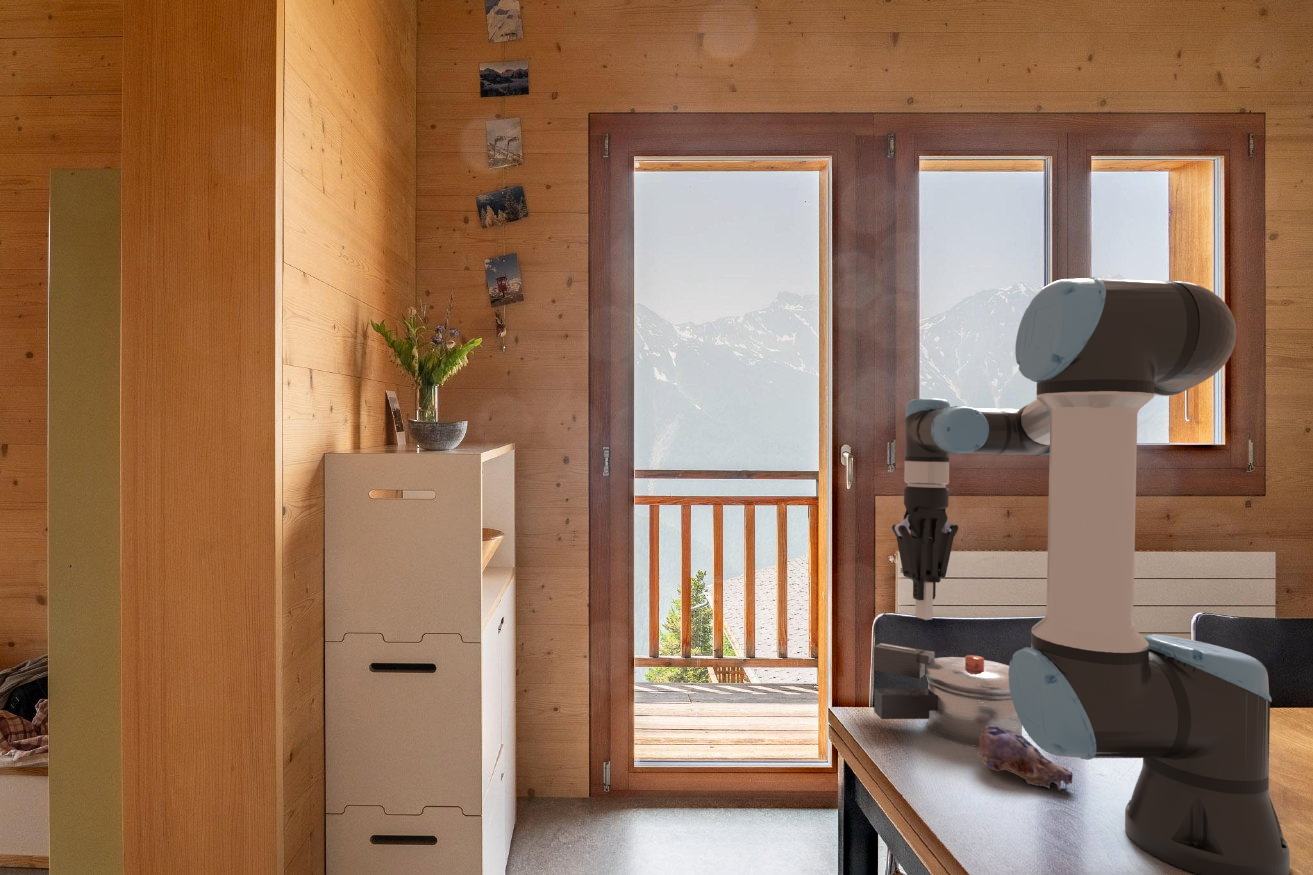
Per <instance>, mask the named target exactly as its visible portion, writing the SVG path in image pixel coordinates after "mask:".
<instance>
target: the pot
mask: <svg viewBox="0 0 1313 875" xmlns="http://www.w3.org/2000/svg"><path fill="white" fill-rule="evenodd" d="M926 681H927V682H928V687H927V688H874V694H873V695H874V696H873V698H874V700H873V702H874V703H873V704H874V705H873V709H874V710H873V713H875V715H877V717H879V718H880V719H881V720H927V727H928V729H929V730H930V729H931V731H932V732H933V733H934V734H935V735H937V736H939V737H942V738H944V739H945V740H949V741H951V740H952V742H955V743H958V744H961V745H962V744H963V745H966V744H967V745H966V746H971V745H974V746H973V747H977V746H979V748H980V740H979V739H980V735H981V733H982V731H983V730H984V728H985V727H987V726H990V725H994V726H998V727H1000V728H1003V729H1005V730H1010V731H1014V732H1016V733H1018V734H1020V735H1021V736H1023V725H1022V723H1021V721H1020V719H1019V717H1018V715H1017V713H1016V710H1015V707H1014V704H1013V701H1012V697H1011V694H982V693H974V692H967V691H962V690H957V689H953V688H949V687H946V686H943V685H940V684H937V683H935V682H933V681H931V680H929V679H928V678H927V677H926Z"/></svg>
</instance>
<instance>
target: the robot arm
mask: <svg viewBox="0 0 1313 875" xmlns="http://www.w3.org/2000/svg"><path fill="white" fill-rule="evenodd" d="M1236 339H1237V327H1236V321H1235V318H1234V315H1233V312H1232V311H1231V309H1230V308H1229V306H1228V305H1227V304H1226V302H1225V301H1224V300H1223V299H1222V298H1221V297H1219V296H1218V295H1217V294H1216V293H1215V292H1213V291H1212V290H1210V289H1208V288H1206V287H1204V286H1201V285H1198V284H1195V283H1193V282H1187V281H1177V280H1164V281H1163V280H1161V281H1160V280H1146V279H1145V280H1141V279H1124V278H1123V279H1122V278H1103V277H1097V276H1096V277H1095V276H1092V277H1091V276H1090V277H1087V278H1086V277H1085V278H1068V279H1067V278H1064V279H1058V280H1055V281H1053V282H1051V283H1049V284H1047V285H1046V286H1044V287H1042V289H1041V290H1039V291H1038V292H1037V294H1035V296H1034V297H1033V298H1032V299H1031V301H1030V304H1029V305H1028V307H1026V309H1025V310H1024V313H1023V315H1022V317H1021V320H1020V323H1019V327H1018V330H1017V335H1016V339H1015V349H1014V350H1015V352H1014V354H1015V361H1016V362H1015V363H1016V364H1017V365H1018V370H1019V372H1020V374H1021V375H1022V376H1023V377H1024V378H1026V379H1028V380H1030V381H1031V382H1034V383H1036V399H1034V400H1033V401H1032V402H1030V403H1028V404H1027V405H1025V406H1022V408H1016V409H1015V408H981V407H979V408H978V407H977V408H976V407H975V408H974V407H971V406H965V405H964V406H957V405H955V406H951V405H950V402H949V401H948V400H947V399H944V398H918V399H917V398H916V399H914V398H913V399H910V400H908V402H907V403H906V405H905V406H906V407H905V414H904V415H905V416H904V473H903V474H904V483H906V484H907V485H906V486H905V487H903V505H904V507H905V513H904V514H903V520H902V521H901V522H900V523H899V522H898V524H895V523H894V524H893V525H892V526H891V530H892V532H893V534H894V535H895V537H896V541H897V547H898V553H899V558H900V563H901V570H902V574H903V577H905V578H908V579H909V580H912V598H913V599H914V600H915V604H914V605H915V607H914V608H915V610H914V611H915V612H914V614H915V617H916V618H918V619H921V620H924V621H928V620H933V609H934V608H933V605H934V604H933V602H934V600H935V598H936V592H937V590H936V588H937V586H936V584H938V583H940V582H941V579H942V578H946V577H947V576H946V575H947V572H948V567H949V562H950V558H951V557H950V556H951V554H952V553H951V552H952V548H953V543H954V539H955V536H956V534H957V532H958V531H959V525H957V524H955V523H951V521H949V520H948V519H949V518H948V515H947V512H946V509H947V508H948V507H949V505H950V504H949V502H950V498H949V495H950V491H949V488H948V487H946V486H947V485H949V484H950V454H952V455H958V454H959V455H965V454H971V455H972V454H973V455H974V454H975V455H977V454H981V455H985V454H986V455H1019V456H1020V455H1021V456H1023V455H1025V456H1035V457H1042V456H1049V466H1048V467H1049V468H1048V470H1049V472H1048V473H1049V474H1048V512H1047V514H1048V515H1047V519H1048V520H1047V522H1048V524H1047V558H1046V560H1047V561H1046V562H1047V564H1046V566H1047V567H1046V568H1047V569H1046V572H1047V573H1046V608H1045V609H1046V610H1045V611H1046V612H1045V613H1046V615H1045V616H1044V617H1043V618H1042V619H1040V620H1039V621H1038V622H1037V623H1035V624H1034V625H1033V626H1032V627H1031V633H1030V634H1031V640H1030V641H1031V642H1030V645H1031V646H1030V647H1028V646H1027V647H1023V648H1022V649H1018V650H1017V651H1015V652H1014V653H1013V655H1012V659H1011V660H1010V661H1009V665H1008V666H1009V674H1008V675H1009V687H1010V693H1011V697H1012V701H1013V704H1014V707H1015V710H1016V713H1017V715H1018V717H1019V719H1020V721H1021V723H1022V728H1023V729H1024V731H1025V732H1026V734H1027V735H1028V736H1029V738H1030V739H1031V740H1032V741H1033V742H1034V743H1035V744H1036V746H1038V747H1039V748H1040V749H1042V750H1043V751H1045V752H1046V753H1048V754H1051V755H1053V756H1056V757H1068V758H1079V759H1081V760H1086V761H1087V760H1094V759H1142V767H1141V770H1140V773H1139V775H1138V777H1137V781H1136V783H1135V786H1134V789H1133V792H1132V795H1131V797H1130V800H1128V803H1127V804H1126V805H1125V810H1124V829H1125V830H1124V831H1125V832H1126V834H1127V836H1128V838H1129V839H1130V840H1131V841H1132V842H1133V843H1135V844H1136V845H1137V846H1138V847H1140V848H1141V849H1142V850H1144V851H1146V852H1147V853H1149V854H1150V855H1152V856H1154V857H1155V858H1158V859H1160V860H1162V861H1163V862H1166V863H1168V864H1171V865H1172V866H1175V867H1177V868H1180V869H1183V870H1186V871H1188V872H1191V873H1194V874H1197V875H1290V874H1291V872H1290V871H1291V869H1290V868H1291V867H1290V866H1291V864H1290V863H1291V861H1290V860H1291V853H1290V848H1289V846H1288V843H1287V841H1286V839H1285V838H1284V835H1283V830H1282V827H1281V823H1280V822H1279V819H1278V815H1277V813H1276V810H1275V808H1274V805H1273V802H1272V799H1271V797H1270V733H1271V732H1270V726H1271V722H1270V720H1271V719H1270V718H1271V703H1272V697H1271V695H1270V687H1269V675H1268V670H1267V668H1266V666H1265V665H1264V664H1263V663H1262V662H1261V661H1260V660H1258V659H1257V658H1255V657H1253V656H1252V655H1250V654H1246V653H1244V652H1241V651H1237V650H1235V649H1230V648H1226V647H1222V646H1220V645H1216V644H1215V645H1214V644H1211V643H1208V642H1203V641H1198V640H1193V639H1188V638H1183V637H1177V636H1171V635H1165V634H1164V635H1163V634H1148V635H1146V636H1144V637H1143V636H1142V635H1141V633H1139V632H1138V630H1136V628H1135V626H1134V601H1135V600H1134V595H1135V592H1134V591H1135V586H1134V585H1135V555H1136V554H1135V549H1136V546H1135V545H1136V542H1135V540H1136V507H1137V506H1136V503H1137V502H1136V500H1137V499H1136V498H1137V496H1136V495H1137V456H1138V454H1137V452H1138V451H1137V449H1138V447H1137V446H1138V413H1139V412H1140V410H1141V409H1142V408H1143V407H1144V406H1146V405H1147V404H1148V403H1150V401H1151V400H1152V399H1153V398H1155V397H1156V396H1160V397H1170V396H1176V395H1178V394H1181V393H1183V392H1186V391H1188V390H1190V389H1192V388H1194V387H1196V386H1199V385H1201V383H1204V382H1205V381H1207V380H1209V379H1210V378H1212V377H1213V376H1214V375H1216V374H1217V373H1218V372H1219V371H1220V370H1221V369H1222V368H1223V367H1224V366H1225V365H1226V364H1227V362H1228V361H1229V358H1230V357H1231V355H1232V354H1233V351H1234V348H1235V345H1236ZM1153 400H1154V399H1153Z"/></svg>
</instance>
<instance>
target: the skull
mask: <svg viewBox="0 0 1313 875" xmlns="http://www.w3.org/2000/svg"><path fill="white" fill-rule="evenodd" d="M979 740H980V747H979V748H978V750H977V751H978V756H979V757H980V759H981V760H982V762H983V763H984V765H985V766H986V767H988V768H989V769H991V770H993V771H1003V770H1006V771H1008V772H1011V773H1012V774H1015V775H1017V776H1019V777H1020V778H1022V779H1025V782H1027V784H1028V785H1030V784H1031V785H1033V786H1036V787H1038V786H1040V787H1044V788H1048V789H1050V788H1051V787H1050V786H1051V783H1054V784H1056V785H1057V789H1058V790H1059V791H1061V790H1062V789H1061V784H1062V783H1061V782H1063V783H1064V785H1065V788H1067V787H1068V786H1069V785H1070V784H1073V777H1074V776H1073V772H1072V771H1070V770H1069V769H1067V768H1066V767H1064V766H1062V765H1060V764H1057V763H1056V762H1053V761H1051V760H1050V759H1048V758H1046V757H1045V756H1044V755H1043V754H1042V753H1041V752H1040V750H1039V749H1038V748H1037V747H1036V746H1035V745H1033V743H1031V742H1030V741H1029V740H1028V739H1026V737H1024V736H1023V735H1022V736H1021V735H1020V734H1018V733H1016V732H1014V731H1010V730H1005V729H1003V728H1000V727H998V726H994V725H990V726H987V727H985V728H984V730H983V731H982V733H981V735H980V739H979Z"/></svg>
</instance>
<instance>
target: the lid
mask: <svg viewBox="0 0 1313 875" xmlns="http://www.w3.org/2000/svg"><path fill="white" fill-rule="evenodd" d="M873 670H874V671H877V672H881V673H882V672H883V673H886V674H887V673H888V674H894V675H899V676H902V677H903V676H904V677H909V678H914V679H918V680H919V679H921V678H923V676H925V678H926V679H927V678H928V679H929V680H931V681H933V682H935V683H937V684H940V685H943V686H946V687H949V688H953V689H957V690H962V691H967V692H974V693H982V694H1011V693H1010V687H1009V675H1008V674H1009V665H1007V664H1004V663H1000V662H996V661H992V660H987V659H985V658H984V657H983V656H980V655H972V654H968V655H965V656H964V657H960V656H959V657H958V656H956V657H955V656H948V657H947V656H946V657H935V651H933V650H932V651H931V650H926V649H919V648H913V647H907V646H902V645H897V644H892V643H891V644H890V643H885V642H884V643H883V642H880V643H878V644H875V646H874V647H873Z"/></svg>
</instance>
